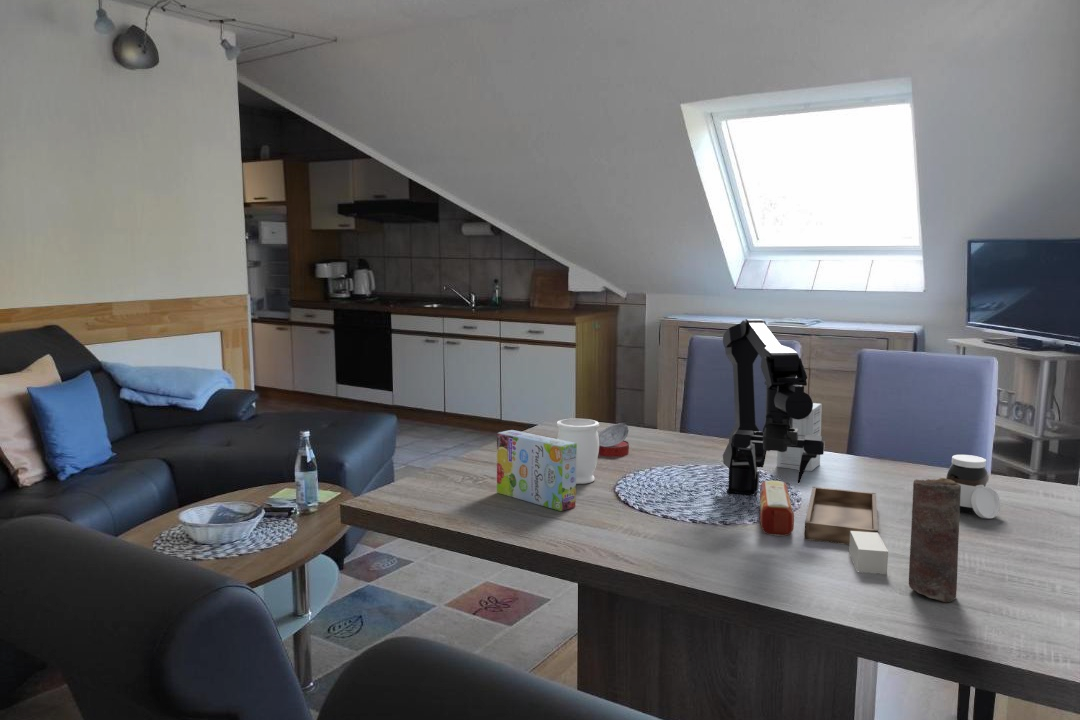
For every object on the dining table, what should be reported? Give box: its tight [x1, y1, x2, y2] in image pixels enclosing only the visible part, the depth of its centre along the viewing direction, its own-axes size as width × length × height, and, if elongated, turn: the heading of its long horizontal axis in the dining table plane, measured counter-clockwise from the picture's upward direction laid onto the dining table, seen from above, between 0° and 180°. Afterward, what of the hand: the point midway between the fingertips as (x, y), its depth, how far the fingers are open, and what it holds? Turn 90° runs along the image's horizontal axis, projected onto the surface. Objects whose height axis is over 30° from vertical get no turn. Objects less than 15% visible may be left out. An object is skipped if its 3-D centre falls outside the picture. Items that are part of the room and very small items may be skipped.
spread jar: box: [945, 454, 1002, 519], centre depth 181 cm, size 12×11×12 cm
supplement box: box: [776, 402, 823, 472], centre depth 219 cm, size 10×9×17 cm
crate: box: [803, 486, 879, 545], centre depth 174 cm, size 14×27×4 cm, turn 159°
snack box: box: [496, 429, 577, 512], centre depth 189 cm, size 21×6×15 cm, turn 47°
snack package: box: [759, 480, 795, 537], centre depth 176 cm, size 21×7×7 cm, turn 166°
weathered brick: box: [908, 477, 961, 603], centre depth 137 cm, size 8×7×20 cm
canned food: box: [598, 422, 630, 458], centre depth 233 cm, size 11×10×10 cm
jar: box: [556, 417, 600, 485], centre depth 205 cm, size 11×10×15 cm
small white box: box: [848, 531, 889, 575], centre depth 152 cm, size 5×10×4 cm, turn 168°
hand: (776, 480), depth 175 cm, fingers open, 9 cm apart
